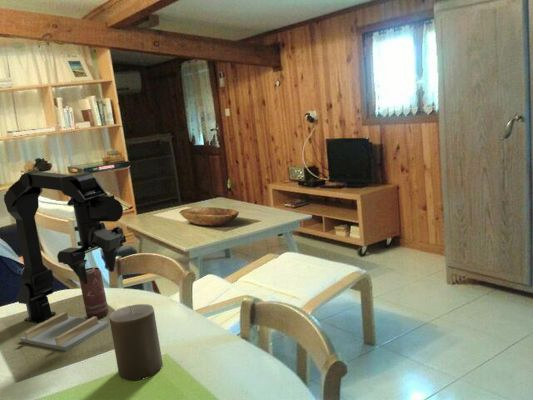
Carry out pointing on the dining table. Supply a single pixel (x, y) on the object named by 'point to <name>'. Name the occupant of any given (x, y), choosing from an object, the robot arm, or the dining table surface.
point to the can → (94, 294)
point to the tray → (63, 331)
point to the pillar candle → (136, 341)
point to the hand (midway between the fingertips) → (99, 277)
